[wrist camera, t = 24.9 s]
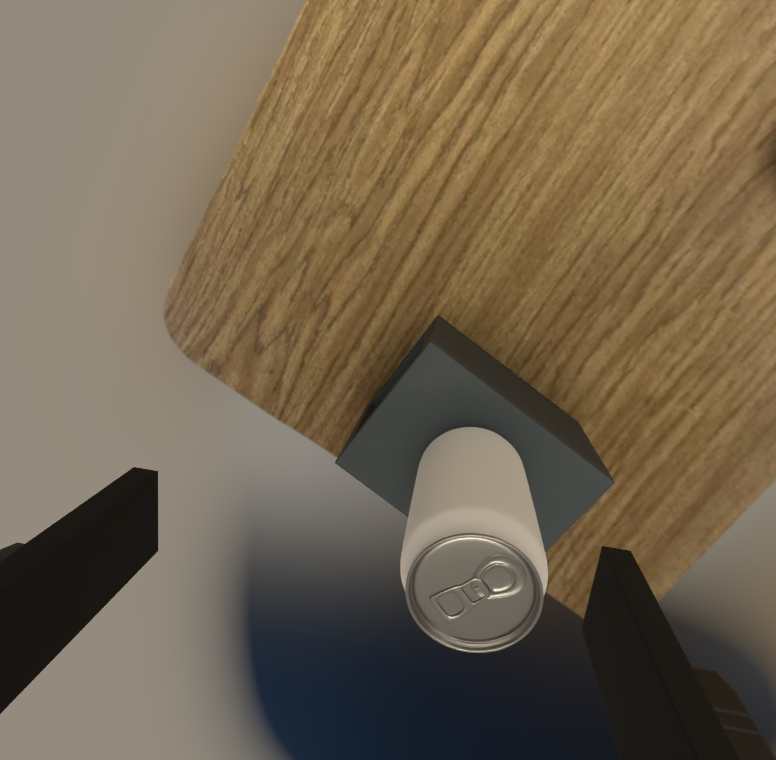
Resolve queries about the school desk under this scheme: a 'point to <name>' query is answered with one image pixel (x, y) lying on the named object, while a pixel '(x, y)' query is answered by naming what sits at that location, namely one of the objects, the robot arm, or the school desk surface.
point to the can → (473, 544)
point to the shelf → (473, 409)
